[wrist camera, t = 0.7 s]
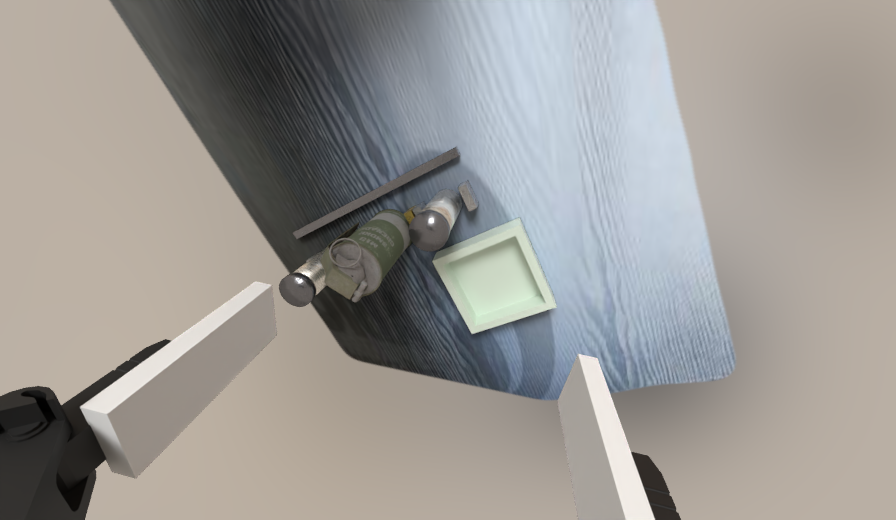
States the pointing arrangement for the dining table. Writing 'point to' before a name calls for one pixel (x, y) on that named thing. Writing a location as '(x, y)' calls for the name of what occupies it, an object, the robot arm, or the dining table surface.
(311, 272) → the fuse rail
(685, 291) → the dining table surface
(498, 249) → the tray
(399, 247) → the grenade
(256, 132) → the dining table surface
